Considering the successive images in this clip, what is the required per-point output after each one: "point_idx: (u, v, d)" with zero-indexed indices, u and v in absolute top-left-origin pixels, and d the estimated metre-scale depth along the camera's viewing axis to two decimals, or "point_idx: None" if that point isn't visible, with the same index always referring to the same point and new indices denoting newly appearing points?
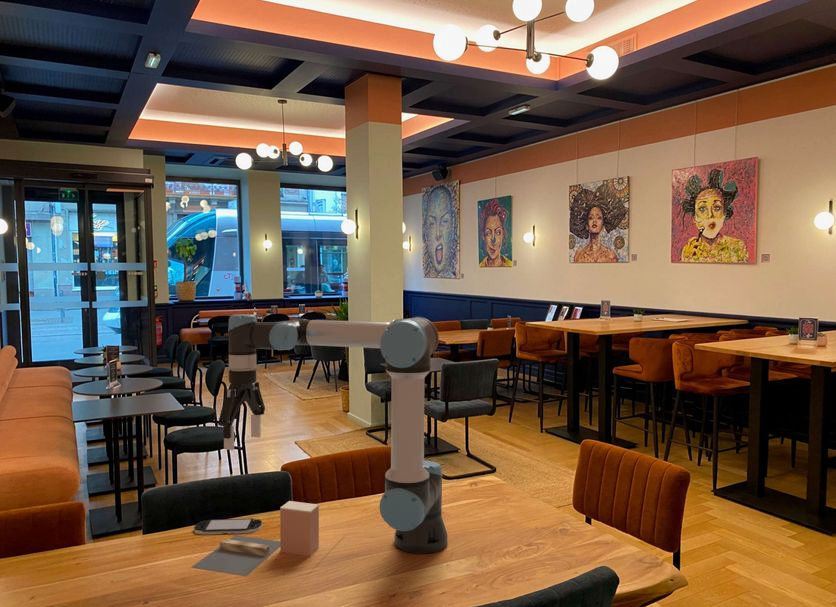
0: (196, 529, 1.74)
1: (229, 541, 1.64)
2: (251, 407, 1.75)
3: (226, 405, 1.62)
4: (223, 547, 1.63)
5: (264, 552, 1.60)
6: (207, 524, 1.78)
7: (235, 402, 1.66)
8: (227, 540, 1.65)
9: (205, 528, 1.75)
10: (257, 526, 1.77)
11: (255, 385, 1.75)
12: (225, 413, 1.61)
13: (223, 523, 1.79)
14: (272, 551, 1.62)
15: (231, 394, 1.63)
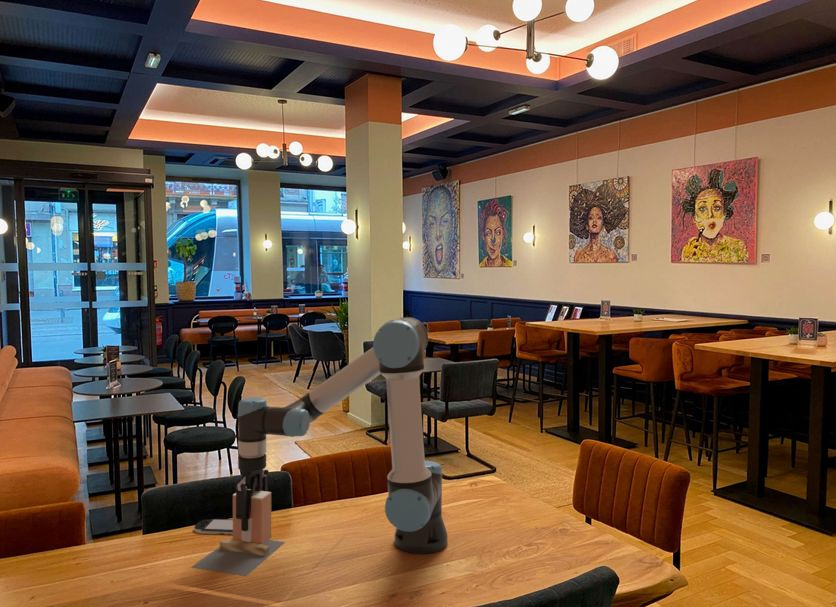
0: (196, 528, 1.75)
1: (229, 541, 1.64)
2: None
3: (239, 499, 1.60)
4: (223, 547, 1.63)
5: (264, 552, 1.60)
6: (208, 523, 1.79)
7: (247, 492, 1.63)
8: (227, 540, 1.65)
9: (204, 528, 1.75)
10: None
11: (264, 472, 1.71)
12: (240, 508, 1.60)
13: (224, 523, 1.79)
14: (272, 551, 1.62)
15: (242, 489, 1.59)
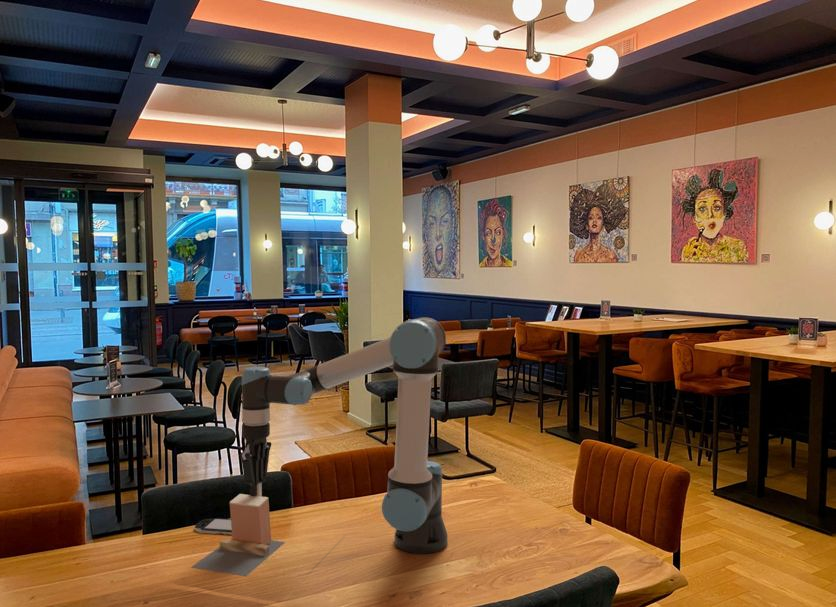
0: (196, 527, 1.76)
1: (229, 541, 1.64)
2: None
3: (246, 467, 1.63)
4: (223, 547, 1.63)
5: (264, 552, 1.60)
6: (209, 522, 1.79)
7: (253, 460, 1.66)
8: (227, 540, 1.65)
9: (204, 527, 1.76)
10: None
11: (267, 444, 1.72)
12: (248, 474, 1.64)
13: (224, 522, 1.79)
14: (272, 551, 1.62)
15: (247, 458, 1.62)
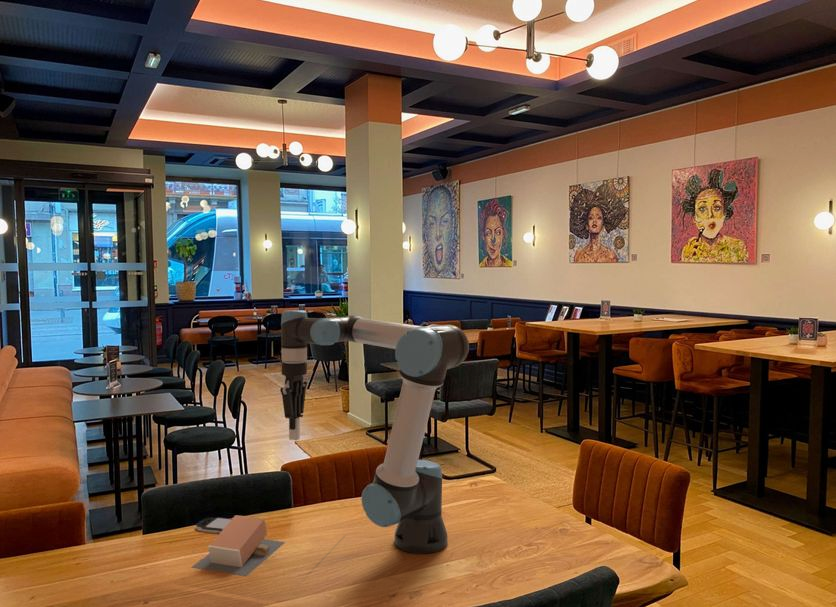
0: (197, 525, 1.77)
1: None
2: None
3: (286, 401, 1.76)
4: None
5: (264, 552, 1.60)
6: (210, 521, 1.80)
7: (292, 395, 1.78)
8: None
9: (205, 526, 1.77)
10: None
11: (304, 383, 1.85)
12: (288, 408, 1.76)
13: (225, 522, 1.80)
14: (272, 551, 1.62)
15: (287, 393, 1.74)
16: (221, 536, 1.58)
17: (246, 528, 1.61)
